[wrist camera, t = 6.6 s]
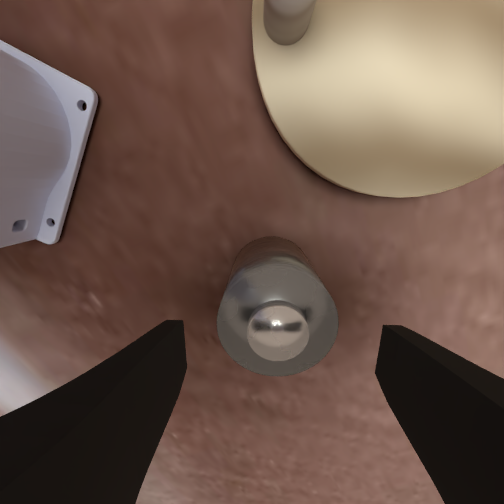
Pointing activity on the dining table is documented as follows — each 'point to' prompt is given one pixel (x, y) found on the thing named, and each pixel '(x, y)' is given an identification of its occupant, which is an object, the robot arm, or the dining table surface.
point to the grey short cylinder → (276, 310)
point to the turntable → (385, 89)
